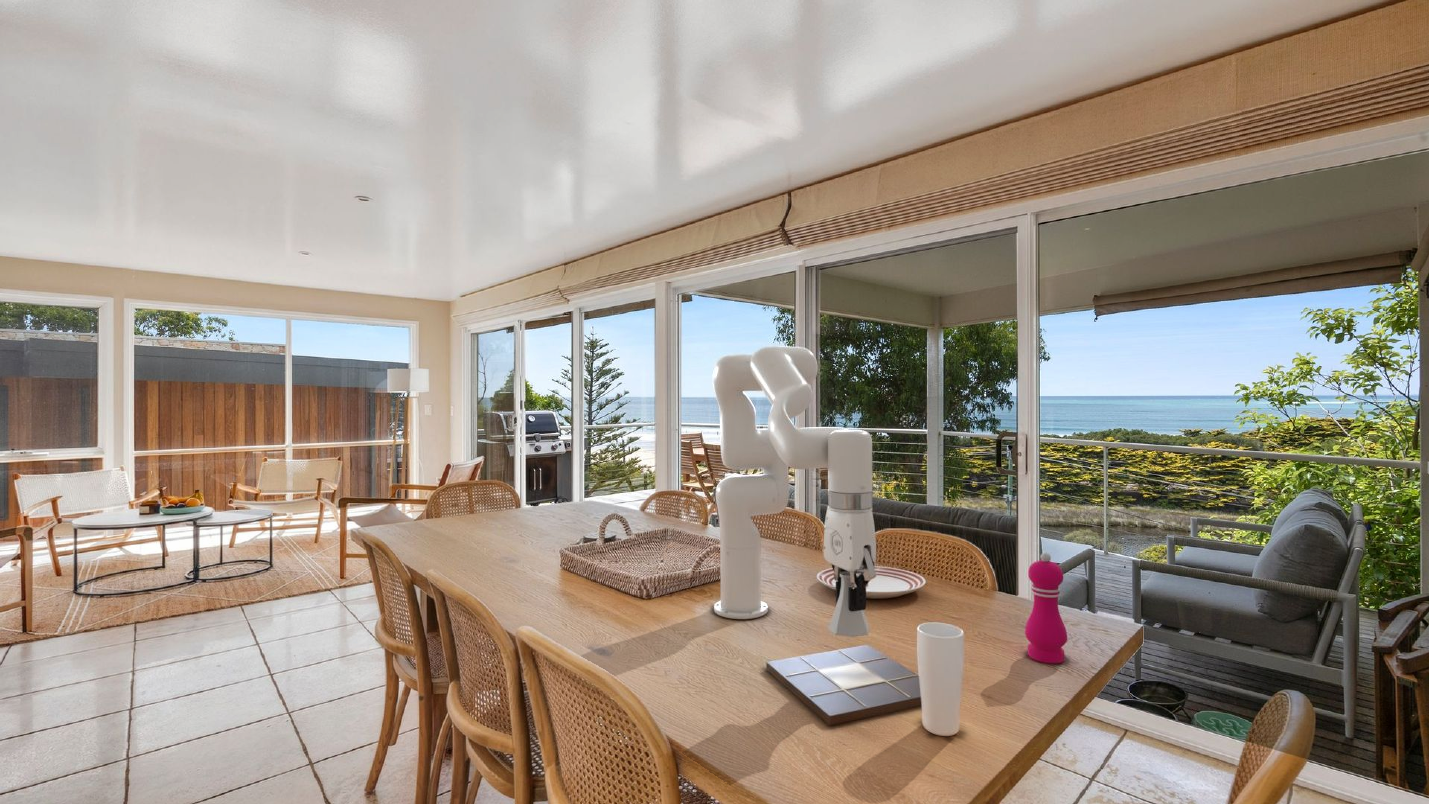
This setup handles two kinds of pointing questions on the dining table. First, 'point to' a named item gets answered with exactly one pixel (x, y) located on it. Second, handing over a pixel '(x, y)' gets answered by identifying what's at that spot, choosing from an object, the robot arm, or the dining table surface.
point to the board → (848, 683)
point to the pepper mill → (1045, 613)
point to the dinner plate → (882, 582)
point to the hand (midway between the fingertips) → (850, 605)
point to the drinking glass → (940, 676)
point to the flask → (847, 614)
